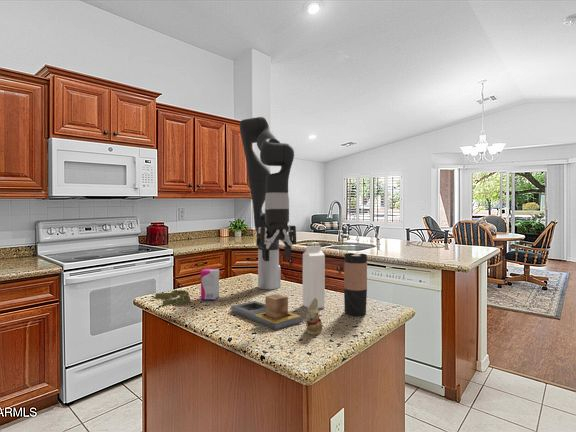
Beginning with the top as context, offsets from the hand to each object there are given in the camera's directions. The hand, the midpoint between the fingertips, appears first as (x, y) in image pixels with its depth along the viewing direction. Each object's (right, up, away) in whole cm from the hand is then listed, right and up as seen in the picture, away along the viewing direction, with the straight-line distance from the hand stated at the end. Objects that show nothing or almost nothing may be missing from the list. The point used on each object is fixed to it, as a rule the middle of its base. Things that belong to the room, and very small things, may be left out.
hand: (277, 259), depth 110 cm
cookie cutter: (-41, -20, +27) cm, 52 cm away
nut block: (0, -20, +1) cm, 20 cm away
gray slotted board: (-4, -20, +5) cm, 21 cm away
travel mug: (+26, -20, +10) cm, 34 cm away
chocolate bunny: (+11, -20, -8) cm, 24 cm away
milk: (+13, -19, +18) cm, 29 cm away
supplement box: (-27, -19, +28) cm, 43 cm away
